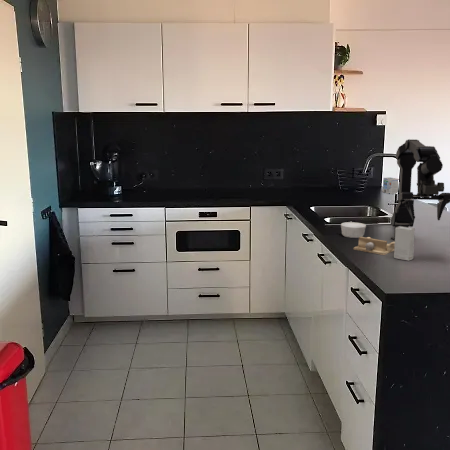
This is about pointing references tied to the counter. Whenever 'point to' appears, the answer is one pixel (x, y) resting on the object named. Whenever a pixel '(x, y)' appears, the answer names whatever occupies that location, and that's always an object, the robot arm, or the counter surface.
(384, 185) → the light bulb box
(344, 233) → the ramekin
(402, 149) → the robot arm
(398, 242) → the skincare box
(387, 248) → the cradle
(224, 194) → the counter surface
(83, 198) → the counter surface
